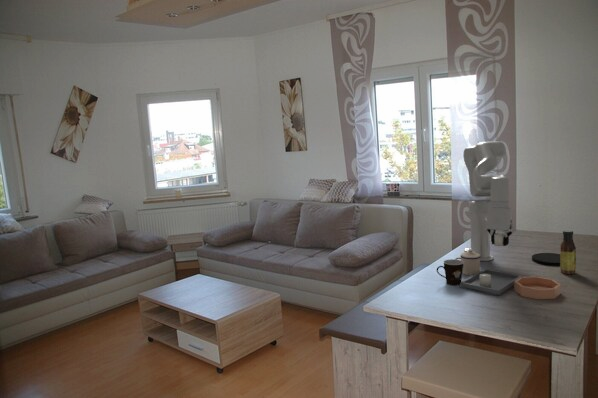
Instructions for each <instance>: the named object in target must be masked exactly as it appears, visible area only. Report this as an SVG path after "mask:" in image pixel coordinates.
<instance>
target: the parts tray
mask: <svg viewBox="0 0 598 398" xmlns="http://www.w3.org/2000/svg"><path fill="white" fill-rule="evenodd" d="M480 274H489V275H491V287H490V288H487V287H483V286H480ZM520 277H523V275H522V274H516V273H509V272H504V271H499V270H495V269H494V270H493V269H488V268H484V269H483V270H480V272H479V273H477V274H475V275H473V276H469V277H467V278H466V279H464V280H463V281H461V282H460V285H459V288H460V289H464V290H468V291H469V290H470V291H473V292H476V293H477V292H478V293H483V294H487V295H490V296H491V295H492V296H495V297H500V296H502V295H503V294H504V293H506V292H507V291H509V290H511V289H513V288H514V281H515V280H517V279H519V278H520Z"/></svg>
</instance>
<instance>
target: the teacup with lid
mask: <svg viewBox="0 0 598 398" xmlns="http://www.w3.org/2000/svg"><path fill="white" fill-rule="evenodd" d="M468 249H469V250H468V251H467V252H462V253H461V254H460V256H457V257H455V258H454V260H461V261H463V262H464V263H463V272H462V275H465V276H469V277H471V276H473V275H475V274H477V273H479V272H480V271H481V261H480V257H481V256H480V254H478V253H475V252H473V250H472V249H471V248H468Z"/></svg>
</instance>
